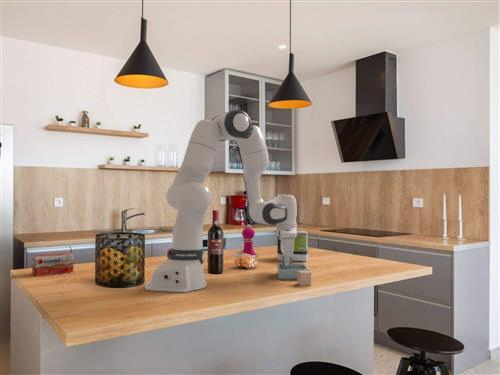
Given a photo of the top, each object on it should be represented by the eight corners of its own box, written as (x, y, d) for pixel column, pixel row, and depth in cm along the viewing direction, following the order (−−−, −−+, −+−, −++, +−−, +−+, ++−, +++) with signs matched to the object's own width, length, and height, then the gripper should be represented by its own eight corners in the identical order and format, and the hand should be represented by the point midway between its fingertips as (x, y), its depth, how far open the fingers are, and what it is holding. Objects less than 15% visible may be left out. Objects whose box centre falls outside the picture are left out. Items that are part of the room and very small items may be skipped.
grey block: (282, 269, 172) (282, 257, 172) (281, 267, 176) (281, 255, 176) (291, 269, 172) (291, 257, 172) (290, 267, 176) (290, 255, 176)
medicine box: (34, 277, 168) (34, 257, 168) (31, 274, 175) (32, 255, 175) (73, 273, 177) (73, 254, 177) (69, 270, 184) (69, 252, 184)
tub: (279, 279, 165) (279, 269, 166) (277, 273, 178) (277, 263, 178) (309, 279, 165) (309, 269, 165) (305, 273, 178) (305, 264, 178)
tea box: (308, 258, 217) (308, 230, 217) (306, 262, 207) (306, 232, 207) (280, 257, 220) (280, 230, 221) (277, 260, 211) (277, 231, 211)
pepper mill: (254, 268, 188) (254, 225, 188) (238, 268, 189) (239, 225, 189) (257, 266, 195) (257, 224, 195) (242, 265, 196) (242, 223, 197)
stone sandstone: (301, 286, 154) (301, 272, 154) (297, 283, 158) (297, 270, 158) (311, 285, 155) (311, 272, 155) (306, 283, 159) (306, 270, 159)
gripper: (277, 229, 185) (277, 260, 184) (280, 234, 164) (280, 268, 164) (291, 229, 184) (291, 260, 184) (296, 234, 164) (296, 268, 164)
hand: (286, 264), depth 174 cm, fingers closed on grey block, 4 cm apart
